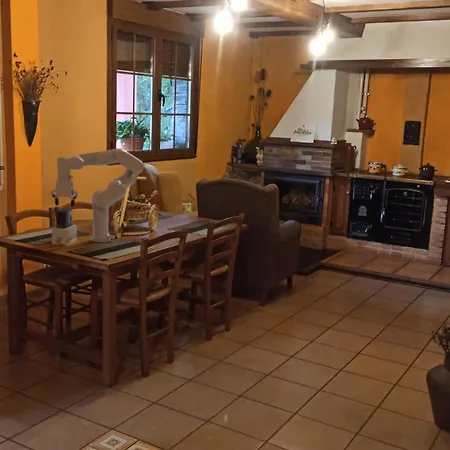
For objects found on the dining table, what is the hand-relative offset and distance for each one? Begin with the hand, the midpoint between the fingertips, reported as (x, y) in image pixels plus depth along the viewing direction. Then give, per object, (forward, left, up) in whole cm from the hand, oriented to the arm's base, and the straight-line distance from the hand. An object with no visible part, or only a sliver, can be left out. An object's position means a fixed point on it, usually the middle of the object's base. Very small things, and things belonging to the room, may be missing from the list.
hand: (64, 205), depth 359 cm
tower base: (0, 0, -23) cm, 23 cm away
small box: (0, 0, -13) cm, 13 cm away
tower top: (0, 0, -18) cm, 18 cm away
